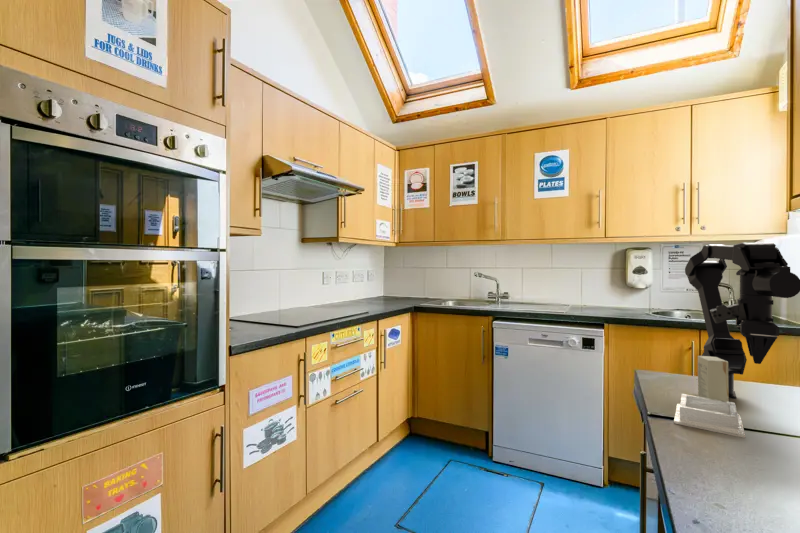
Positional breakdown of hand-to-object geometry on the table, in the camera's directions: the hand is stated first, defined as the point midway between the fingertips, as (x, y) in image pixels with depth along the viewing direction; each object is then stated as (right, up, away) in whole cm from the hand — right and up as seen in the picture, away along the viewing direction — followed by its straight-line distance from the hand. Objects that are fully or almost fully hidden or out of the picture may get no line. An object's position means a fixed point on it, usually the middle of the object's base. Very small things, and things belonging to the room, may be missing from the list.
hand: (755, 359), depth 93 cm
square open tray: (-14, -13, -4) cm, 20 cm away
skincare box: (-6, -13, +5) cm, 15 cm away
